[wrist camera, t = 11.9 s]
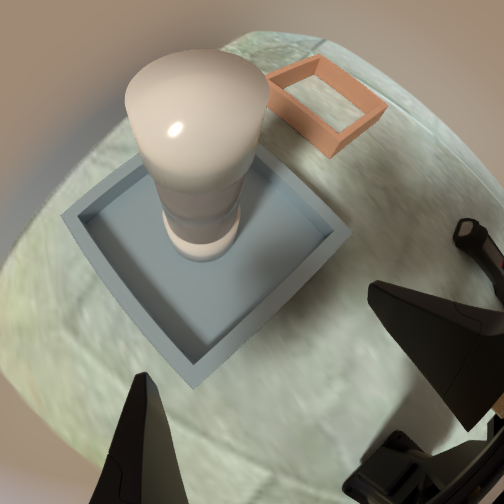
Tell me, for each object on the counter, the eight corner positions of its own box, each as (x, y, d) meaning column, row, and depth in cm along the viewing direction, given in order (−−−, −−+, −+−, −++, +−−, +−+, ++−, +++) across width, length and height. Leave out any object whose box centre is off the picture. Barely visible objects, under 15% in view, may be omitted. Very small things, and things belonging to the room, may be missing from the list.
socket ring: (377, 120, 26) (388, 105, 24) (329, 159, 23) (340, 142, 21) (313, 69, 27) (319, 53, 25) (254, 97, 24) (258, 77, 22)
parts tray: (338, 244, 21) (353, 232, 19) (195, 383, 17) (192, 389, 14) (213, 126, 23) (214, 105, 20) (74, 228, 19) (60, 215, 16)
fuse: (250, 232, 19) (299, 95, 8) (199, 276, 18) (180, 168, 7) (206, 188, 20) (208, 37, 8) (156, 228, 19) (102, 89, 7)
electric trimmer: (513, 333, 22) (533, 329, 19) (449, 242, 23) (471, 231, 20) (520, 308, 23) (539, 303, 20) (458, 218, 24) (478, 206, 21)
